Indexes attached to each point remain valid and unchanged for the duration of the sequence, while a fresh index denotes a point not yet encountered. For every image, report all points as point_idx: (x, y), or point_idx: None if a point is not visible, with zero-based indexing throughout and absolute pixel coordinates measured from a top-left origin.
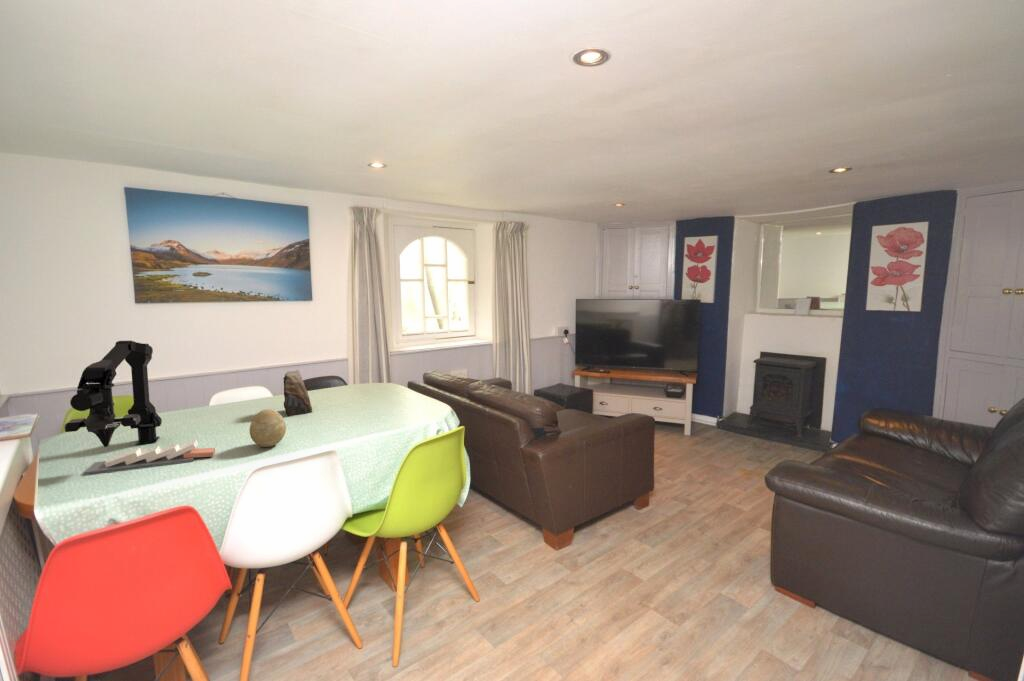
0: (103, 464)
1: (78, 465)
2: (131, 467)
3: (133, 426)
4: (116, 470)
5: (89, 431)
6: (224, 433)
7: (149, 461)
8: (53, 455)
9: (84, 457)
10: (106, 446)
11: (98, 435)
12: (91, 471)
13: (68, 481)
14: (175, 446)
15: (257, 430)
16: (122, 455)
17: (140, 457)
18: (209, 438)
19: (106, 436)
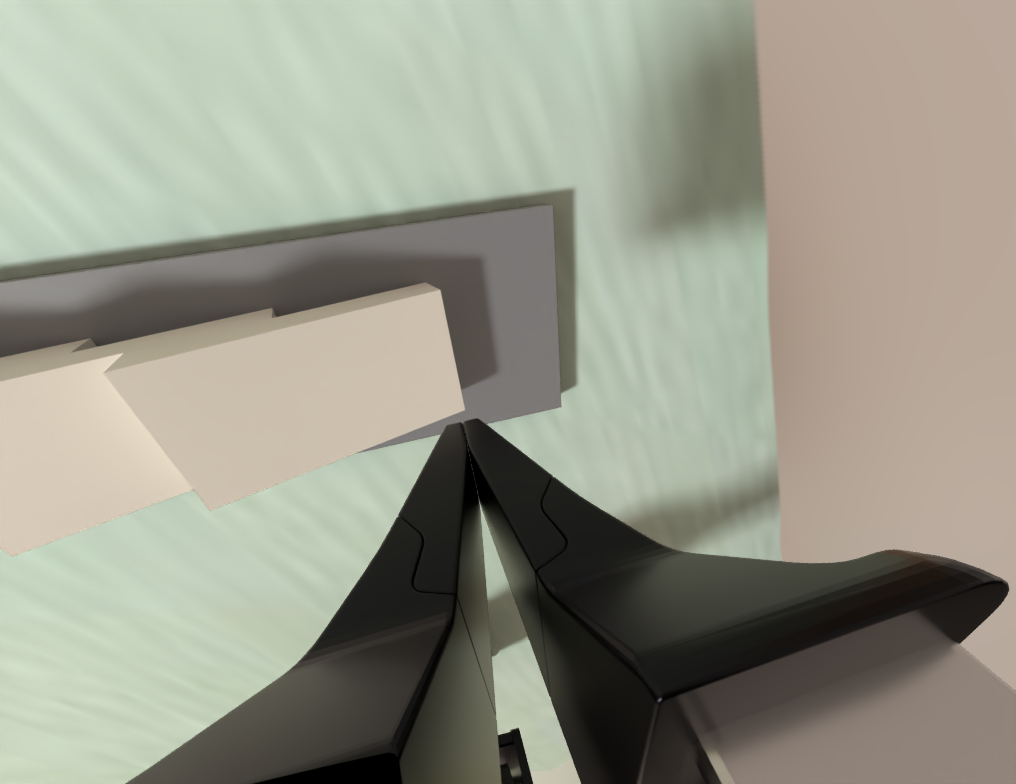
0: (486, 357)
1: (640, 404)
2: (194, 256)
3: (512, 748)
4: (324, 236)
5: (941, 562)
6: (57, 769)
7: (62, 344)
8: (757, 522)
9: (643, 500)
10: (453, 423)
11: (586, 528)
12: (505, 212)
13: (614, 70)
14: None
15: None
16: (324, 390)
17: (102, 351)
18: (87, 719)
19: (437, 534)
